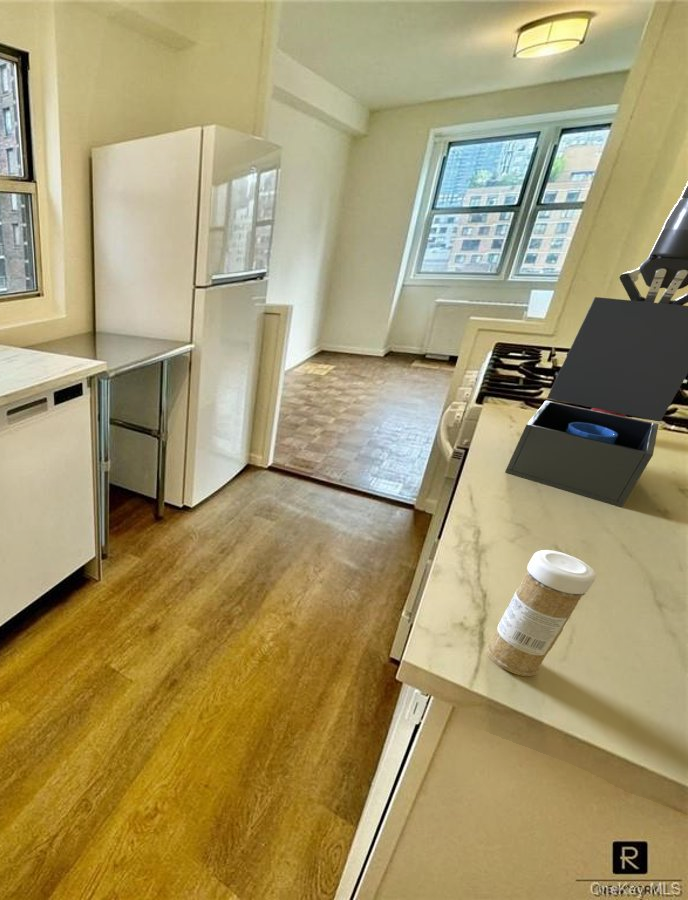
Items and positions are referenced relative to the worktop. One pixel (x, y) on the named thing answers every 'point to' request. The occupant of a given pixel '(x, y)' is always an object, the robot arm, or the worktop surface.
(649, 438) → the grey storage bin
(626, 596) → the worktop surface
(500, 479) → the worktop surface
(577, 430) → the cup
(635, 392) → the door
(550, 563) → the sprinkles bottle
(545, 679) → the worktop surface
